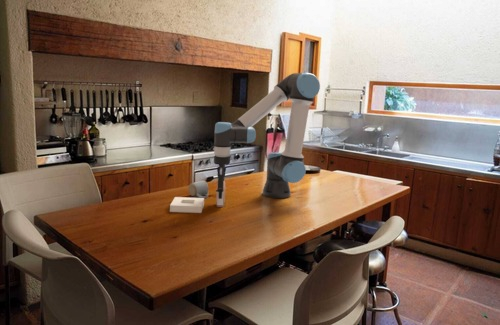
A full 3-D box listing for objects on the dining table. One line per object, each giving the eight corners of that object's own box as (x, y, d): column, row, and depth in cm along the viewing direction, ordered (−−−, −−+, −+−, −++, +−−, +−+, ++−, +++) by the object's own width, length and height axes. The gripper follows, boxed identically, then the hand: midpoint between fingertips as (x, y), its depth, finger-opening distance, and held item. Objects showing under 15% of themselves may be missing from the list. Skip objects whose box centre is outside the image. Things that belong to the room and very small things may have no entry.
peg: (224, 204, 198) (225, 180, 196) (224, 207, 194) (225, 182, 192) (216, 204, 198) (217, 180, 196) (215, 207, 194) (216, 182, 192)
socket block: (204, 204, 198) (204, 198, 198) (201, 212, 184) (201, 206, 184) (174, 203, 198) (175, 197, 197) (169, 211, 184) (170, 205, 183)
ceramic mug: (187, 195, 213) (187, 180, 211) (200, 193, 218) (200, 178, 217) (199, 200, 205) (199, 185, 204) (212, 197, 211) (212, 183, 209)
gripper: (215, 151, 202) (214, 195, 206) (212, 159, 181) (211, 208, 185) (230, 152, 203) (229, 196, 207) (229, 159, 181) (227, 208, 186)
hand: (220, 202), depth 196 cm, fingers open, 9 cm apart
